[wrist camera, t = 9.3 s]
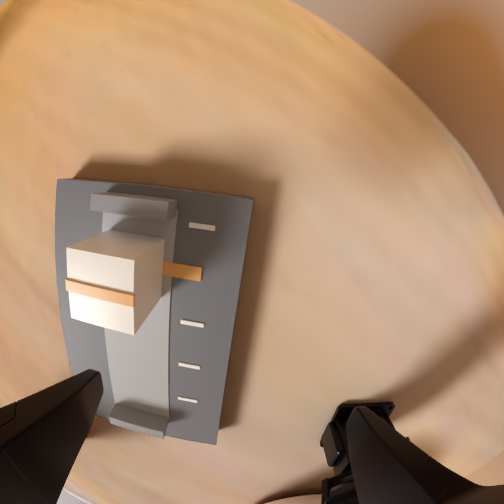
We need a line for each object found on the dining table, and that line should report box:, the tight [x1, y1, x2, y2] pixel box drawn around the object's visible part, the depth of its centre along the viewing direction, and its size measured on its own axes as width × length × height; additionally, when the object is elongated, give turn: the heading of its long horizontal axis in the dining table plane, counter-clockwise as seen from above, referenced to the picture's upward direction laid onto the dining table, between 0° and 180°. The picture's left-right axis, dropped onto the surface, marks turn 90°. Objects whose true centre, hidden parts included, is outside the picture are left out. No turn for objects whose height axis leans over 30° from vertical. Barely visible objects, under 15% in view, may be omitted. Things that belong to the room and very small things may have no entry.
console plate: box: [55, 178, 253, 445], centre depth 19 cm, size 14×22×4 cm, turn 171°
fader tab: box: [65, 230, 165, 335], centre depth 15 cm, size 4×4×5 cm
